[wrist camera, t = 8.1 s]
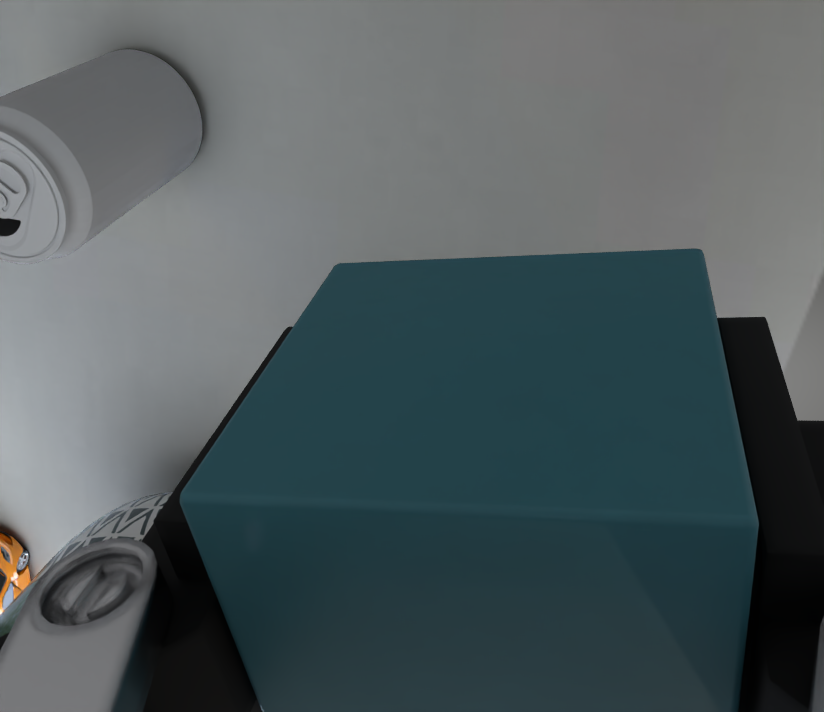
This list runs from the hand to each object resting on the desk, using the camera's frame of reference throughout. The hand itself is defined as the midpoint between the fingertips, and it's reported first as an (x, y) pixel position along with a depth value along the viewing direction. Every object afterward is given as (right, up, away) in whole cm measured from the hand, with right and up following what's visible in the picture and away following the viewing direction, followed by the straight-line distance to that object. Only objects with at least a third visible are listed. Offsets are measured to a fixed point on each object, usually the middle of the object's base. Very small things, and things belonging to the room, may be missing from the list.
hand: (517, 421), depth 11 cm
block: (0, 0, 0) cm, 0 cm away
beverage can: (-15, +13, +29) cm, 35 cm away
